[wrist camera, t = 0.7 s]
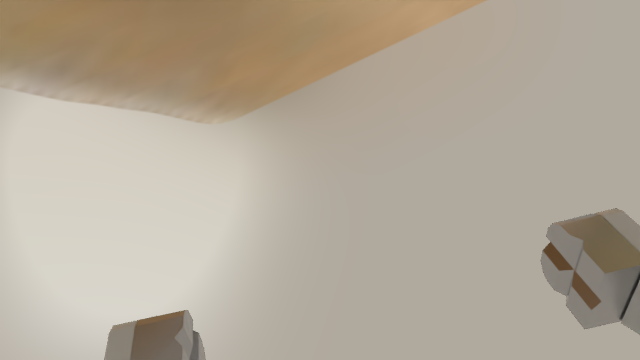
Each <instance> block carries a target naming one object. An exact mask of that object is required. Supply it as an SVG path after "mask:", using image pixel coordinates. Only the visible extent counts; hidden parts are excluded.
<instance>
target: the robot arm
mask: <svg viewBox="0 0 640 360" xmlns="http://www.w3.org/2000/svg"><path fill="white" fill-rule="evenodd" d="M546 237H547V238H548V239H549V240H550V243H549V244H548V245H547V246H546V247H545V249H544V250H543V251H542V257H541V264H542V269H543V273H544V275H545V277H546V279H547V281H548V282H549V284H550V285H551V286H552V288H553V289H554V290H556V291H557V292H559V293H562V294H563V295H566V306H567V307H568V308H569V310H570V311H571V313H572V314H573V315H574V316H575V318H576V319H577V320H578V322H579V323H580V324H581V325H582V327H583V328H584V329H588V328H593V327H597V326H601V325H606V324H610V323H614V322H619V321H621V323H622V324H623V325H625V326H627V327H628V328H630V329H631V330H633V331H635V332H637V333H638V334H640V226H639V225H638V224H637V223H636V222H635V221H634V220H632V219H631V218H630V217H629V216H628V215H627V214H626V213H625V212H623V211H622V210H619V209H617V208H615V209H611V210H607V211H603V212H598V213H595V214H589V215H585V216H580V217H577V218H573V219H568V220H564V221H560V222H556V223H553V224H552V225H551V226H550V227H549V228H548V231H547V235H546ZM104 360H206V359H205V352H204V347H203V344H202V340H201V338H200V335H199V333H198V332H195V331H193V319H192V317H191V315H190V313H189V311H188V310H184V311H179V312H175V313H170V314H165V315H161V316H156V317H151V318H146V319H141V320H137V321H133V322H128V323H124V324H119V325H114V326H113V327H112V329H111V331H110V333H109V337H108V342H107V348H106V353H105V359H104Z"/></svg>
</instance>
